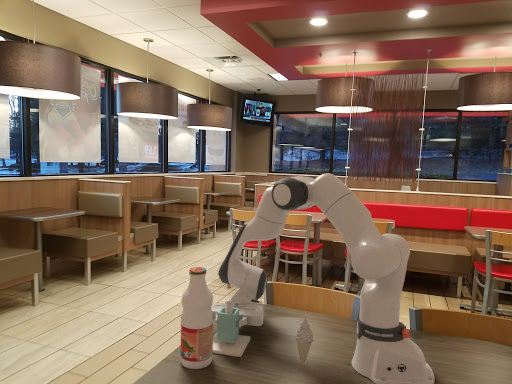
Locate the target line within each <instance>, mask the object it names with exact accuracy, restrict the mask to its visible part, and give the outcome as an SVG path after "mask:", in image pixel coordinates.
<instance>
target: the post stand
mask: <svg viewBox="0 0 512 384" xmlns="http://www.w3.org/2000/svg"><path fill="white" fill-rule="evenodd" d="M230 299H231V298H230ZM230 299H226V300H225V302H224V304H225V313H227V314H232V304H233V303H232V301H231V300H230ZM250 341H251V336H249V335H243V334H239V336H238V337H237V339H236V340H235V342H234V343H231V342H224V341H217V331H216V332H215V334H213V354H218V355H223V356H225V355H226V356H230V357H231V356H232V357H240V358H241V357H242V356H243V354H244V352H245V350H246V348H247V346H248V345H249V343H250Z"/></svg>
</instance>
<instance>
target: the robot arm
mask: <svg viewBox="0 0 512 384" xmlns="http://www.w3.org/2000/svg"><path fill="white" fill-rule="evenodd" d="M315 207H317V208H318V209H319V210H321V212H322V214H323V215H324V216H325V217H326V218H327V220H328V221H329V222H330V223H331V225H332V227H334V228H335V230H336V231H337V232H338V234H339V235H340V237H341V238H342V240H343V242H344V244H345V246H346V248H347V250H348V252H349V254H350V263H351V267H352V269H353V271H354V272H355V274H356V275H357V276H358V277H360V278H361V279H364V282H363V286H362V287H361V290H360V296H359V297H360V298H359V316H358V317H357V321H356V337H357V339H356V340H357V341H356V346H355V349H354V355H353V357H352V359H351V366H352V368H353V369H354V370H355V371H356V372H357V373H359V374H360V375H362V376H364V377H366V378H368V379H369V380H370V381H372V382H373V383H374V384H435V374H434V371H433V369H432V367H431V366H430V365H429V364H428V362H426V358H425V354H424V352H423V350H422V349H421V347H420V346H418V344H416V342H414V341H412V340H411V339H410V337H411V332H410V330H409V329H407V326H406V325H405V324H404V322H403V321H400V316H401V315H400V313H401V299H402V292H403V287H404V283H405V279H406V273H407V269H408V268H407V266H408V261H409V258H410V255H411V248H410V244H409V242H408V241H407V240H406V239H405V238H404V237H403V236H401V235H400V234H399V235H398V234H395V233H383V234H381V233H380V231H379V229H378V228H377V226H376V224H375V222H374V220H373V218H372V213H371V211H370V210H369V209H368V208H367V206H365V205H364V203H363V202H362V201H361V200H360V198H359V197H358V196H357V195H356V194H355V193H354V192H353V190H351V189H350V187H349V186H348V185H347V184H345V183H344V182H343V181H342V180H341V179H340V178H338V177H337V176H336V175H334V174H333V173H321V174H320V175H318V176H317V177H315V176H304V175H303V176H302V175H297V176H291V177H288V176H287V177H283V178H280V179H278V180H277V181H276V182H274V184H273V185H270V186H269V187H267V188H266V189H264V192H263V194H262V196H261V198H260V200H259V203H258V205H257V207H256V211H255V213H254V216H253V217H252V219H251V220H248V221H245V222H244V223H243V224H242V226H241V227H240V228H239V230H238V232H237V234H236V236H235V238H234V240H233V242H232V244H231V246H230V248H229V251H228V252H227V254H226V256H225V258H224V259H223V261H222V263H221V264H220V266H219V268H218V272H217V274H218V277H219V280H220V281H221V282H222V284H225V285H229V286H232V287H236V288H238V290H237V291H236V292H235V294H233V295H232V297H230V300H231V301H232V303H233V304H232V308H239V320H237V322H236V327H238V328H239V329H240V328H242V326H253V327H261V326H262V325H263V324H264V303H263V301H260V299H261V298H262V297H263V295H264V293H265V291H266V288H267V285H268V279H269V278H268V275H267V273H266V270H265V269H263V268H260V267H259V266H256V265H252V264H251V263H248V262H245V261H242V260H241V259H240V258H239V256H240V254H241V253H242V251H243V248H244V247H245V244H246V243H248V242H252V241H253V242H254V241H255V242H256V241H269V240H270V241H271V240H274V239H276V238H277V237H280V235H281V234H282V232H283V230H284V228H285V225H286V223H287V220H288V219H287V218H288V216H289V213H290V211H295V210H296V211H297V210H300V211H301V210H306V209H309V208H310V209H311V208H315ZM222 307H225V303H219V302H217V303H216V302H213V303H212V306H211V309H212V312H213V322H214V325H216V326H217V314H218V312H219V311H220V310H221V308H222Z"/></svg>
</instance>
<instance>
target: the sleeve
mask: <svg viewBox="0 0 512 384" xmlns="http://www.w3.org/2000/svg"><path fill="white" fill-rule="evenodd" d="M237 320H239V308H232V314H227V313H225V307H222V308H221V310H220V311H219V312H218V314H217V325H216V332H217V341H224V342H231V343H234V342H235V340H236V339H237V337H238V336H239V335H240V334H239V333H240V328H238V327H236V322H237Z"/></svg>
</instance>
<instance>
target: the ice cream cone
mask: <svg viewBox="0 0 512 384" xmlns="http://www.w3.org/2000/svg"><path fill="white" fill-rule="evenodd" d="M296 332H297V333H296V337H295V341H296V345H297V349H298V353H299V357H300V362H301V365H302V367H305V364H306V361H307V358H308V355H309V352H310V349H311V346H312V343H313V341H314V333H313V330H311V328H310V325H309V322H308V320H307V316H305V317H304V319H303V321H302V323H301V324H300V327H299V330H297V331H296Z"/></svg>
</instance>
